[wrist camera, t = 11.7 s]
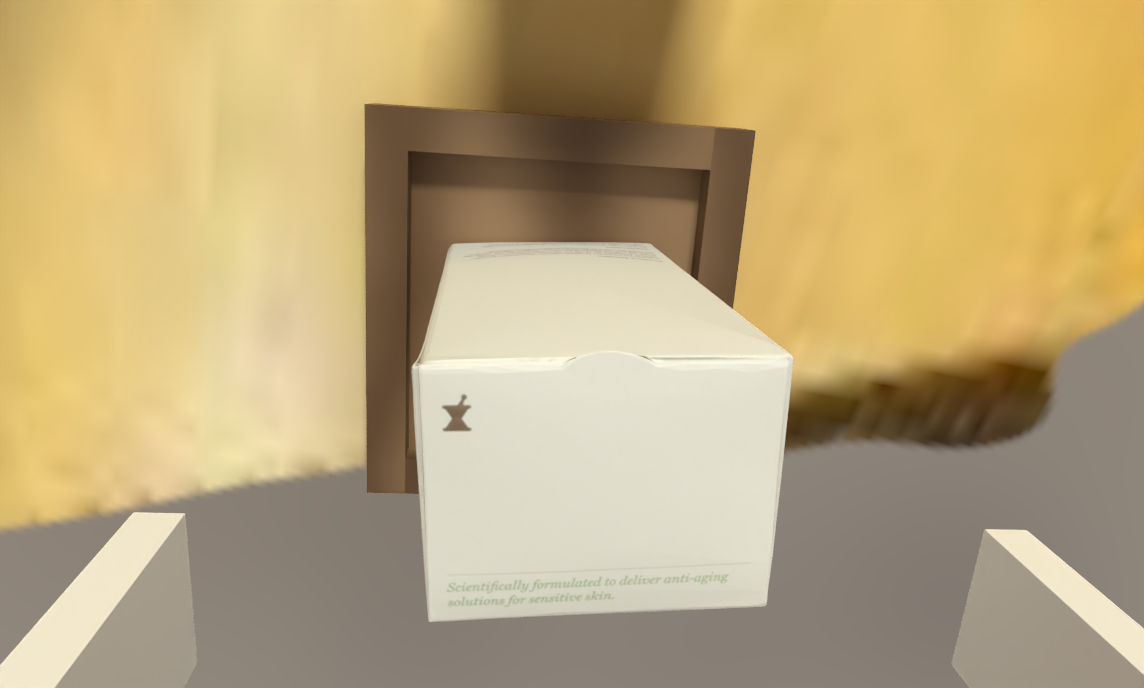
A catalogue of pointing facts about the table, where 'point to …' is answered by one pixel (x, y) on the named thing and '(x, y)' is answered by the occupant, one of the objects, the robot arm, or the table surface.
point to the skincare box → (593, 436)
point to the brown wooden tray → (523, 221)
